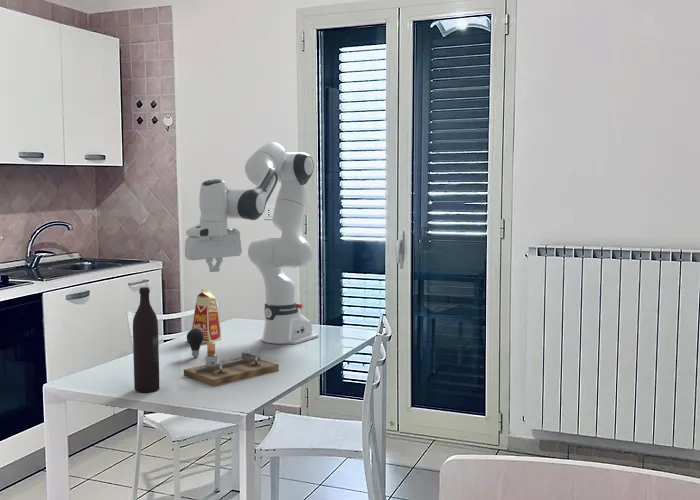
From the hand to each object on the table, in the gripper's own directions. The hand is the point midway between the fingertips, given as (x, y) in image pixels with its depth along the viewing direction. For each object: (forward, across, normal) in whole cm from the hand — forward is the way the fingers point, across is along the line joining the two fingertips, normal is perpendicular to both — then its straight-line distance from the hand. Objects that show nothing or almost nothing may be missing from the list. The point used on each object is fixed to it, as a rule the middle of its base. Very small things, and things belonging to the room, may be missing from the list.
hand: (214, 271), depth 233 cm
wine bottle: (+31, +31, +10) cm, 45 cm away
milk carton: (+31, -18, -32) cm, 48 cm away
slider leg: (+29, +10, +13) cm, 33 cm away
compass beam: (+29, +3, +13) cm, 32 cm away
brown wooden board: (+31, +3, +13) cm, 34 cm away
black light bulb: (+31, 0, -12) cm, 33 cm away
